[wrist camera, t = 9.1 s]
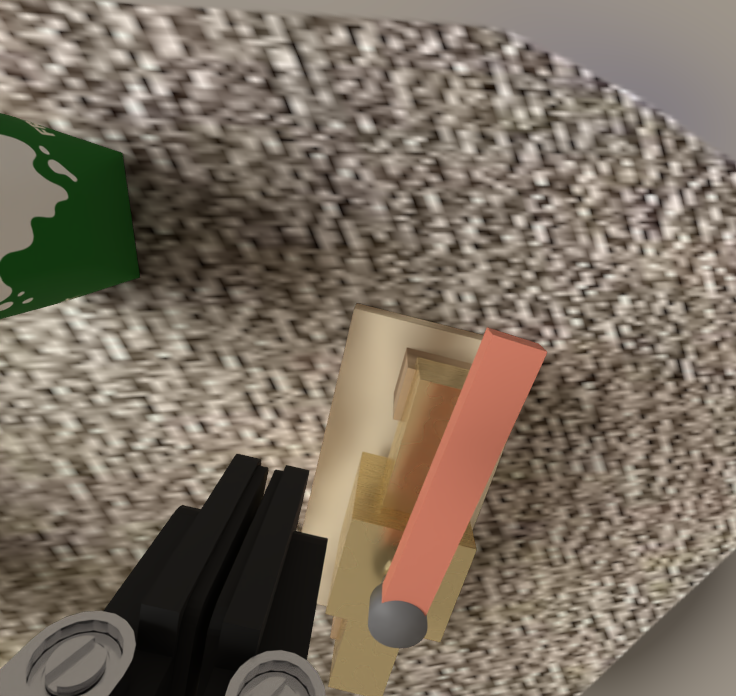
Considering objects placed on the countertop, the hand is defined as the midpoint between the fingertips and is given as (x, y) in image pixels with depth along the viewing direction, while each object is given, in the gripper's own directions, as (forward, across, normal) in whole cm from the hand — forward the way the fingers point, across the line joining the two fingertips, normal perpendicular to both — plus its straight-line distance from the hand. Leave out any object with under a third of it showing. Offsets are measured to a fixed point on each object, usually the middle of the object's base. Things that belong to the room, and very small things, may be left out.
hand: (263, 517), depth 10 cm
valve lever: (+8, -6, +3) cm, 10 cm away
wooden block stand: (+15, -6, +9) cm, 19 cm away
